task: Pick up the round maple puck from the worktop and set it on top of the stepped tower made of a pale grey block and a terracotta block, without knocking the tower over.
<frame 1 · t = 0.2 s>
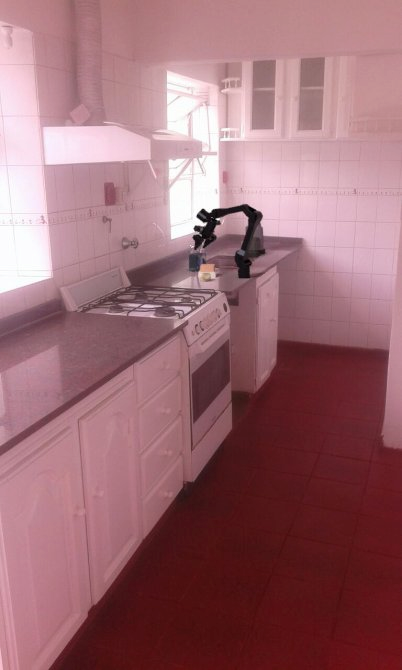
hand: (198, 249, 369), 15 cm above the countertop, tool tilted 30°, fingers open, 9 cm apart
juicer: (253, 254, 443), on the countertop
tower top: (207, 271, 363), point 3 cm above the countertop, touching tower base
maple puck: (205, 280, 349), on the countertop
tower base: (207, 276, 364), on the countertop, touching tower top
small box: (197, 270, 385), on the countertop
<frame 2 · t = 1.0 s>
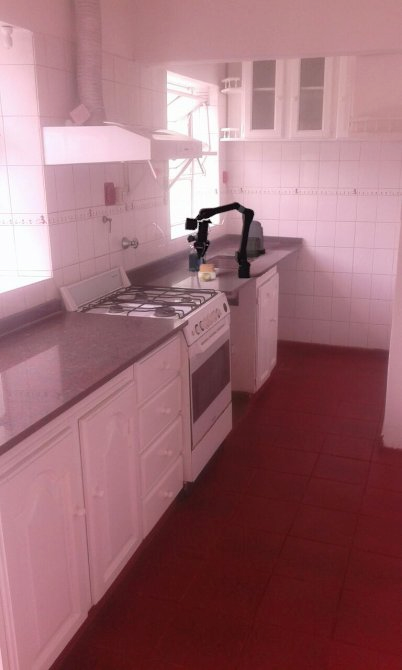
hand: (200, 258, 350), 12 cm above the countertop, tool pointing down, fingers open, 9 cm apart
tower top: (207, 271, 363), point 3 cm above the countertop
tower base: (207, 276, 364), on the countertop
everything else where it was.
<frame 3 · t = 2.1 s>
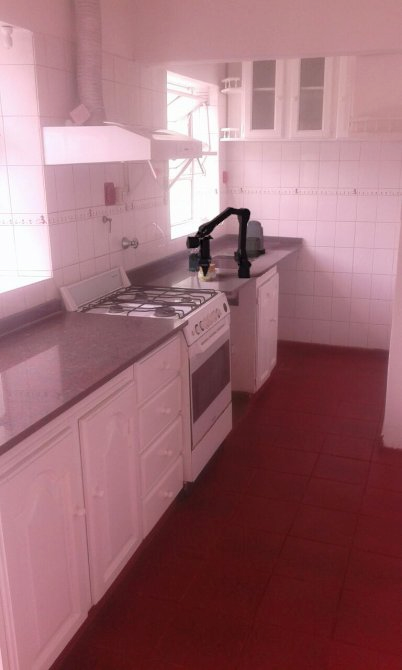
hand: (205, 274, 348), 3 cm above the countertop, tool pointing down, fingers open, 9 cm apart
nothing on the countertop moved.
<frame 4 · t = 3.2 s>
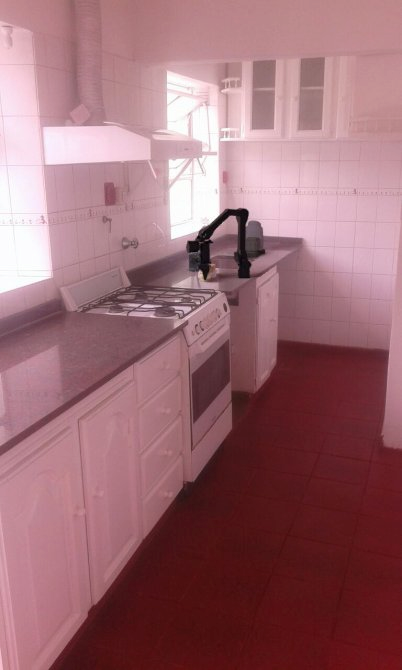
hand: (205, 278, 349), 1 cm above the countertop, tool pointing down, fingers closed on maple puck, 6 cm apart
tower top: (207, 271, 363), point 3 cm above the countertop, touching tower base
maple puck: (205, 280, 349), on the countertop, touching gripper
tower base: (207, 276, 364), on the countertop, touching tower top
everything else where it was.
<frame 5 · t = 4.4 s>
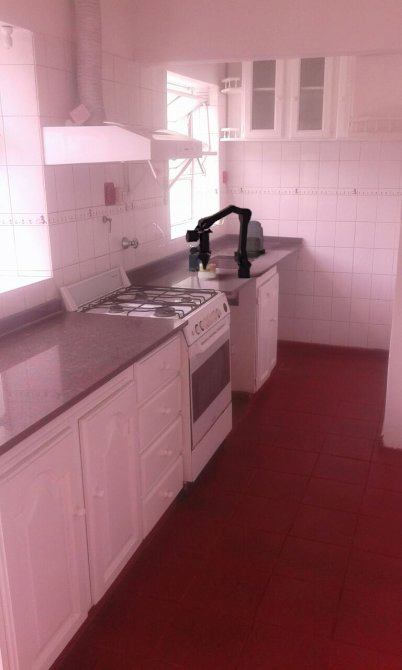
hand: (205, 268, 347), 7 cm above the countertop, tool pointing down, fingers closed on maple puck, 6 cm apart
maple puck: (205, 270, 348), point 6 cm above the countertop, touching gripper
everything else where it was.
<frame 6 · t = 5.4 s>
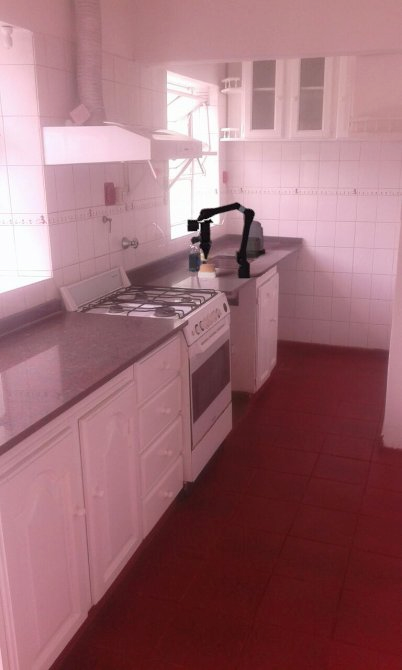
hand: (206, 258, 352), 12 cm above the countertop, tool pointing down, fingers closed on maple puck, 6 cm apart
maple puck: (206, 260, 353), point 11 cm above the countertop, touching gripper
everything else where it was.
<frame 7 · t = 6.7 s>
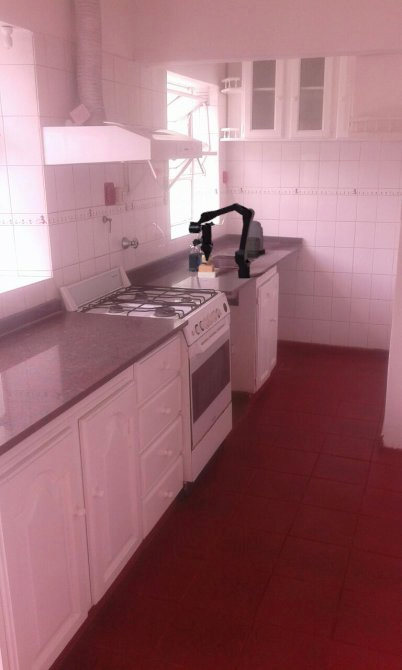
hand: (207, 260, 361), 9 cm above the countertop, tool pointing down, fingers closed on maple puck, 6 cm apart
maple puck: (207, 261, 361), point 8 cm above the countertop, touching gripper
when the fingers open (9 cm above the countertop, at t = 7.2 s): maple puck drops 2 cm, resting on tower top.
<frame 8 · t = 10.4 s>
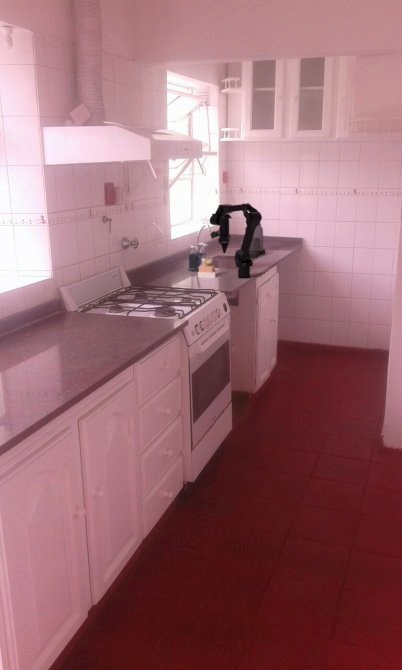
hand: (224, 252, 366), 13 cm above the countertop, tool pointing down, fingers open, 9 cm apart
tower top: (206, 271, 363), point 3 cm above the countertop, touching maple puck, tower base
maple puck: (207, 265, 362), point 6 cm above the countertop, touching tower top
at the end: maple puck 0.1 cm off-centre on the tower base, point 7.0 cm above the tower base's base; tower top 0.2 cm off-centre on the tower base, point 3.5 cm above the tower base's base; tower base moved 0.6 cm from its start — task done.
